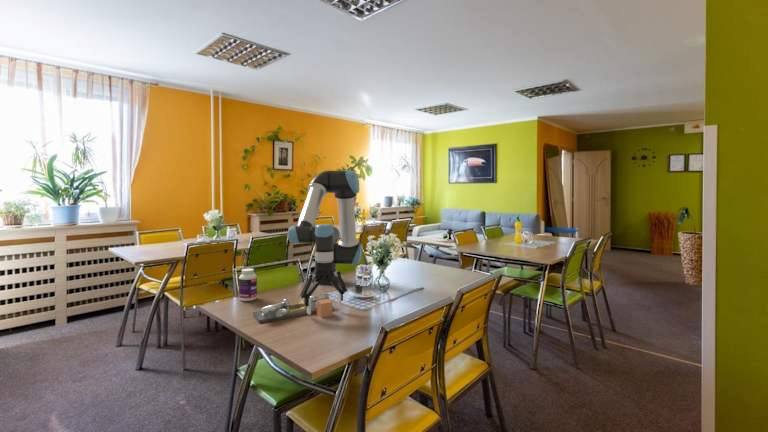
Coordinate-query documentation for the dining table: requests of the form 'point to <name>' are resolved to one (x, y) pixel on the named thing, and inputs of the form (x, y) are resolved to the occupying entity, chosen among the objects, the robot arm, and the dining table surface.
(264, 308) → the shaft
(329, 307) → the block
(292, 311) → the board
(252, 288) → the pill bottle
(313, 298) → the shaft
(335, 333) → the dining table surface
